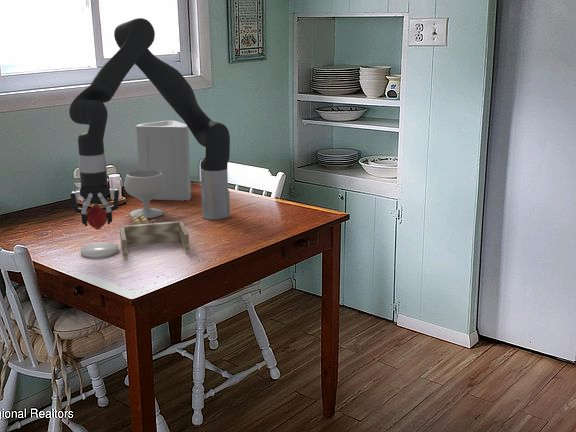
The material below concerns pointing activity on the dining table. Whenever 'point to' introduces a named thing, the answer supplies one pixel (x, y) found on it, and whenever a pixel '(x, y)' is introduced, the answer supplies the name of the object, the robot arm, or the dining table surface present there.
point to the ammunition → (142, 218)
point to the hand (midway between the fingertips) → (97, 224)
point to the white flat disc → (99, 250)
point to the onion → (96, 217)
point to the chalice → (145, 190)
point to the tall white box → (166, 156)
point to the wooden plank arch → (153, 235)
